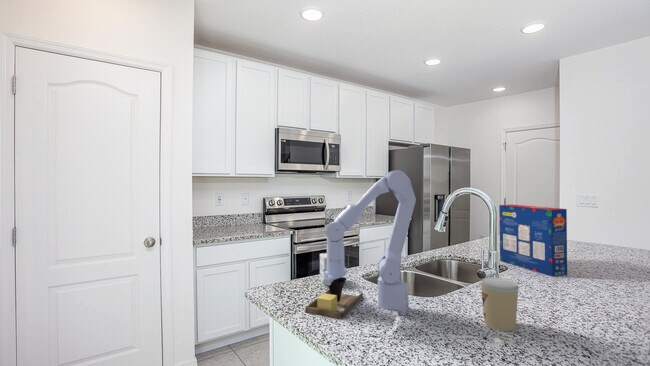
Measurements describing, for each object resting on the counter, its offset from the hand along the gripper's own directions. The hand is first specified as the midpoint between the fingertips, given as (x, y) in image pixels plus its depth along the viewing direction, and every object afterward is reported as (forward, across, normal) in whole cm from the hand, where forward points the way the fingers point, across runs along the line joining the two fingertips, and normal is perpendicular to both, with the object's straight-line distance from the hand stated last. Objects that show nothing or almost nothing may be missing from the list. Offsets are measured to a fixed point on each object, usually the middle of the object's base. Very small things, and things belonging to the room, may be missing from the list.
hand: (336, 300), depth 104 cm
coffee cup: (+2, -6, +47) cm, 47 cm away
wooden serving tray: (+2, 0, 0) cm, 2 cm away
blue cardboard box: (+3, -78, +65) cm, 101 cm away
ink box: (+2, -20, -12) cm, 23 cm away
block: (+1, +6, 0) cm, 6 cm away
